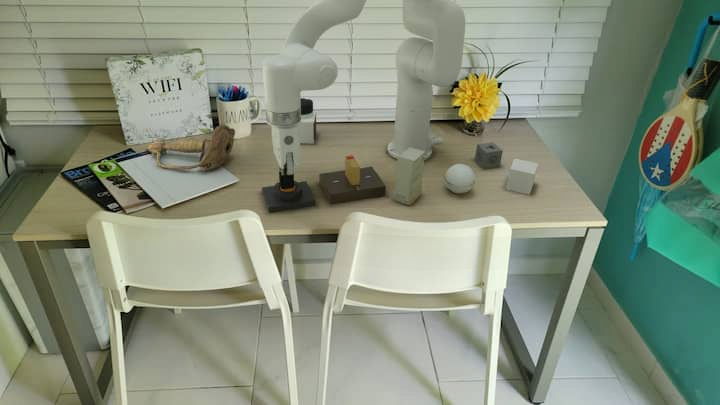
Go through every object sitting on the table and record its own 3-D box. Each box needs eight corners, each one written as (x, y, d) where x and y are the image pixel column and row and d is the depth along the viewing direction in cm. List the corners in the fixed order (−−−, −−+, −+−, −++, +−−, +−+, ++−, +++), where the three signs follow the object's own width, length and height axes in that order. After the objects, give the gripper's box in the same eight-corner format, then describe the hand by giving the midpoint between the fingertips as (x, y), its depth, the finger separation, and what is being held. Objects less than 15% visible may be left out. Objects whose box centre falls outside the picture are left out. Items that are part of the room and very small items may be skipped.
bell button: (293, 187, 124) (293, 181, 123) (297, 195, 121) (296, 189, 120) (279, 190, 123) (278, 183, 122) (282, 197, 120) (281, 191, 119)
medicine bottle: (314, 144, 147) (313, 105, 141) (289, 143, 147) (287, 104, 140) (316, 133, 153) (315, 95, 146) (292, 132, 153) (291, 94, 146)
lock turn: (359, 184, 124) (360, 165, 121) (351, 185, 123) (352, 166, 120) (352, 173, 128) (353, 154, 125) (344, 174, 127) (345, 156, 124)
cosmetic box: (409, 206, 122) (414, 161, 115) (393, 200, 124) (396, 156, 117) (421, 194, 126) (426, 151, 120) (405, 189, 128) (409, 145, 122)
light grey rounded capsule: (440, 183, 131) (444, 158, 127) (469, 183, 131) (473, 158, 127) (447, 205, 123) (451, 178, 119) (477, 205, 123) (482, 179, 119)
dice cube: (499, 166, 140) (502, 150, 137) (483, 169, 138) (486, 152, 135) (490, 158, 143) (493, 142, 141) (474, 160, 142) (477, 144, 139)
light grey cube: (529, 195, 128) (534, 174, 125) (505, 189, 130) (510, 168, 127) (533, 183, 133) (538, 163, 129) (510, 178, 134) (514, 158, 131)
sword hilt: (211, 159, 125) (232, 115, 133) (120, 146, 128) (146, 104, 137) (221, 184, 133) (241, 141, 141) (136, 171, 137) (160, 130, 145)
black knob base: (306, 186, 128) (306, 174, 126) (315, 206, 121) (315, 193, 119) (262, 193, 125) (261, 180, 123) (268, 213, 118) (267, 200, 116)
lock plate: (371, 176, 133) (372, 165, 131) (385, 196, 125) (386, 185, 123) (319, 183, 129) (319, 173, 127) (330, 205, 121) (330, 193, 120)
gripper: (308, 127, 106) (310, 201, 116) (293, 100, 117) (295, 169, 127) (272, 130, 104) (277, 206, 114) (260, 103, 115) (265, 173, 125)
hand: (287, 186), depth 121 cm, fingers closed
